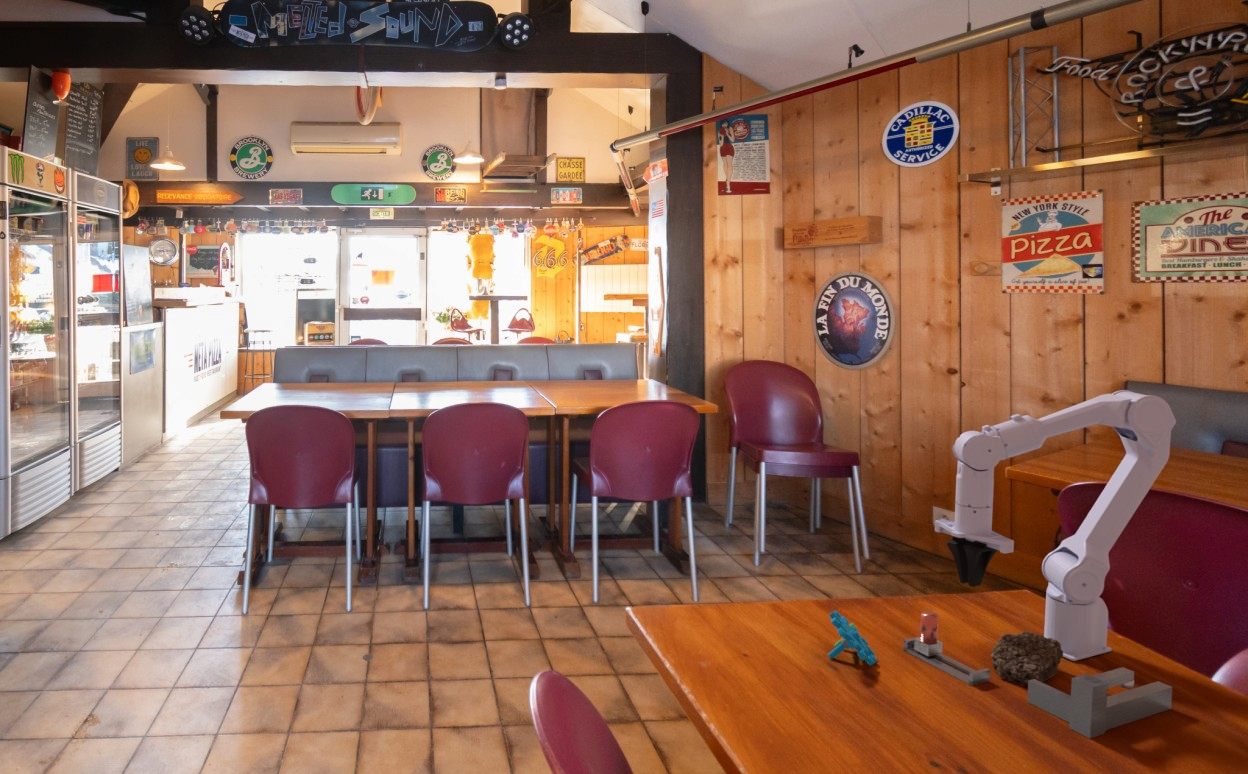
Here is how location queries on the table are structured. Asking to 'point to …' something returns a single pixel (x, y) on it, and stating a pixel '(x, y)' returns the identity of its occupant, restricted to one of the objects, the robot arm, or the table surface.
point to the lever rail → (950, 665)
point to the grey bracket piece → (1101, 701)
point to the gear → (850, 639)
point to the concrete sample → (1026, 657)
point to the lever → (928, 635)
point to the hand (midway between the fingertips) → (970, 583)
